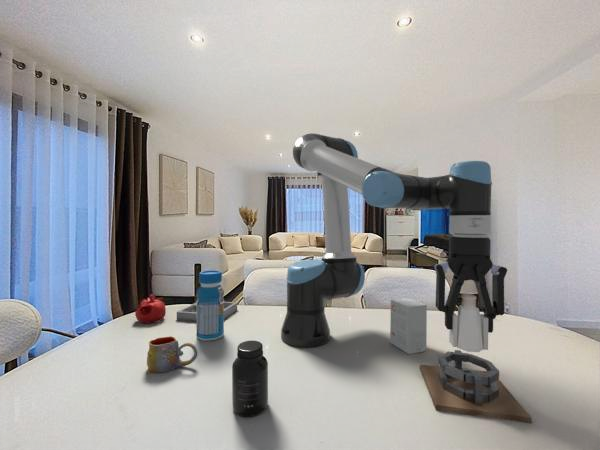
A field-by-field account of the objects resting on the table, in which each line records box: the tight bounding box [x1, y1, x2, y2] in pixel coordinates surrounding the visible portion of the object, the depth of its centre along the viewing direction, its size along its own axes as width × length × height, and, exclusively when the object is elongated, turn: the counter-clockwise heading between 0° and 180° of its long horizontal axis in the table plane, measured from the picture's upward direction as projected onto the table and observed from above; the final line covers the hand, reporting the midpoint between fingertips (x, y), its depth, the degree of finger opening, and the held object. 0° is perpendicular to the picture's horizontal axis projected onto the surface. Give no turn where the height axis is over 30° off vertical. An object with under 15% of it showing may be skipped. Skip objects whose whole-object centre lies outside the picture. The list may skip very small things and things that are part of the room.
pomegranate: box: [135, 294, 167, 324], centre depth 103 cm, size 10×10×9 cm
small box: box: [389, 297, 428, 355], centre depth 82 cm, size 8×6×13 cm
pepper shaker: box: [456, 293, 484, 353], centre depth 61 cm, size 5×5×11 cm
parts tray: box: [176, 301, 238, 323], centre depth 109 cm, size 16×16×3 cm
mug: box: [145, 335, 199, 374], centre depth 70 cm, size 12×7×7 cm, turn 87°
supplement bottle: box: [231, 340, 269, 418], centre depth 55 cm, size 7×7×12 cm
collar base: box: [419, 363, 533, 424], centre depth 61 cm, size 16×16×1 cm
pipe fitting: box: [190, 303, 197, 313], centre depth 110 cm, size 8×4×7 cm
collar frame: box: [438, 349, 500, 406], centre depth 61 cm, size 10×13×5 cm
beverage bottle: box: [195, 269, 226, 342], centre depth 89 cm, size 8×8×20 cm
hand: (468, 345), depth 61 cm, fingers closed on pepper shaker, 5 cm apart
